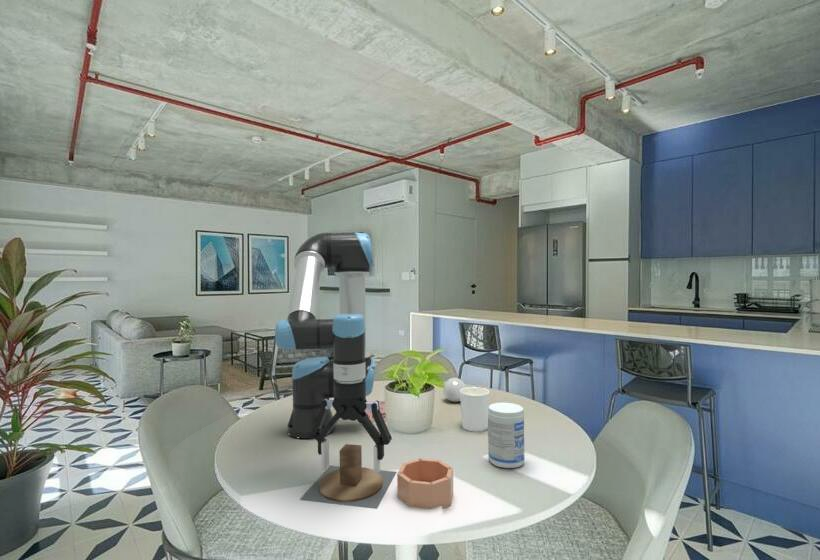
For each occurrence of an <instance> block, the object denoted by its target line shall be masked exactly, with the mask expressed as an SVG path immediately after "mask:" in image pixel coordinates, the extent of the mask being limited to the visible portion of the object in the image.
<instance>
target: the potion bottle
mask: <svg viewBox="0 0 820 560" xmlns="http://www.w3.org/2000/svg"><path fill="white" fill-rule="evenodd" d="M444 384H445V389H444V390H443V389H442V393H443V394H442V395H443V396H444V397H445V399H446V400H448V401H450V402H452V403H458V402H459V403H460V390H461V389H463V388H467V387H469V386H467V385H466V384H465V382H464V381H463V380H462V379H460V378H458V377H450V378H449V379H447V380H445V381H444ZM472 387H478V385H477V384H476V385H474V386H472ZM480 388H483V387H480Z"/></svg>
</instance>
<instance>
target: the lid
mask: <svg viewBox="0 0 820 560" xmlns="http://www.w3.org/2000/svg"><path fill="white" fill-rule="evenodd" d="M362 459H363V457H362V445H361V444H349V443H345V444H344V446H342V448H340V450H339V466H340V469H338V470H335V471H332V472H330V473H328V474H327V475H325V476H324V477H323V478H322V479H321V480H320V482H319V492H320V493H321V495H322V496H324V497H325V498H327V499H330V500H333V501H339V502H353V501H359V500H363V499H366V498H369V497H371V496H373V495H375V494H376V493H377V492H379V491H380V489H381V488H382V485H383V478H382V476H381V475H380V474H379V473H378V475H374V469H373V470H372V468H369V467H363V466H362V465H363V462H362Z"/></svg>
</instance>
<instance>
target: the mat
mask: <svg viewBox="0 0 820 560" xmlns="http://www.w3.org/2000/svg"><path fill="white" fill-rule="evenodd" d="M338 469H340V465H339V466H338V465H330V464H329V466H328V467H327V468H326V469H325V470H324V472H322V474H321V475H320V476H319V477H318V478H317V480H316V481H314V483H312V485H311V486H310V487H309V488H308V489H307V490H306V492H305V493H303V495H301V497H300V498H299V501H307V502H315V503H322V504H332V505H333V504H335V505H341V506H349V507H358V508H359V507H360V508H367V509H376V510H377V509H378V508H379V506H380V504H381V502H382V501H383V499H384V497H385V494H386V493H387V491H388V489H389V487H390V485H391V483H392V482H393V480H394V478H395V476H396V474H397V473H398V471H392V470H381V469H380V471H379V474H380V475H381V476H382V478H383V485H382V488H381V489H380V491H379V492H377V493H376V494H375V495H373V496H371V497H369V498H366V499H363V500H359V501H353V502H339V501H333V500H330V499H327V498H325V497H324V496H322V495H321V493H320V492H319V482H320V480H321V479H322V478H323V477H324V476H325V475H327V474H328V473H330V472H332V471H335V470H338ZM371 469H372V468H371ZM372 470H374V468H373V469H372Z"/></svg>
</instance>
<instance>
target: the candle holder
mask: <svg viewBox="0 0 820 560" xmlns="http://www.w3.org/2000/svg"><path fill="white" fill-rule="evenodd" d="M490 395H491V394H490V390H489V389H487V388H484V387H482V388H481V387H478V386H477V387H473V386H468V387H467V388H463V389H461V390H460V401H459V403H460V411H461V412H460V414H461V427H462V429H463V430H465V431H468V432H475V433H476V432H478V433H479V432H484V431H486V430H488V408H489V405H490Z"/></svg>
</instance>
